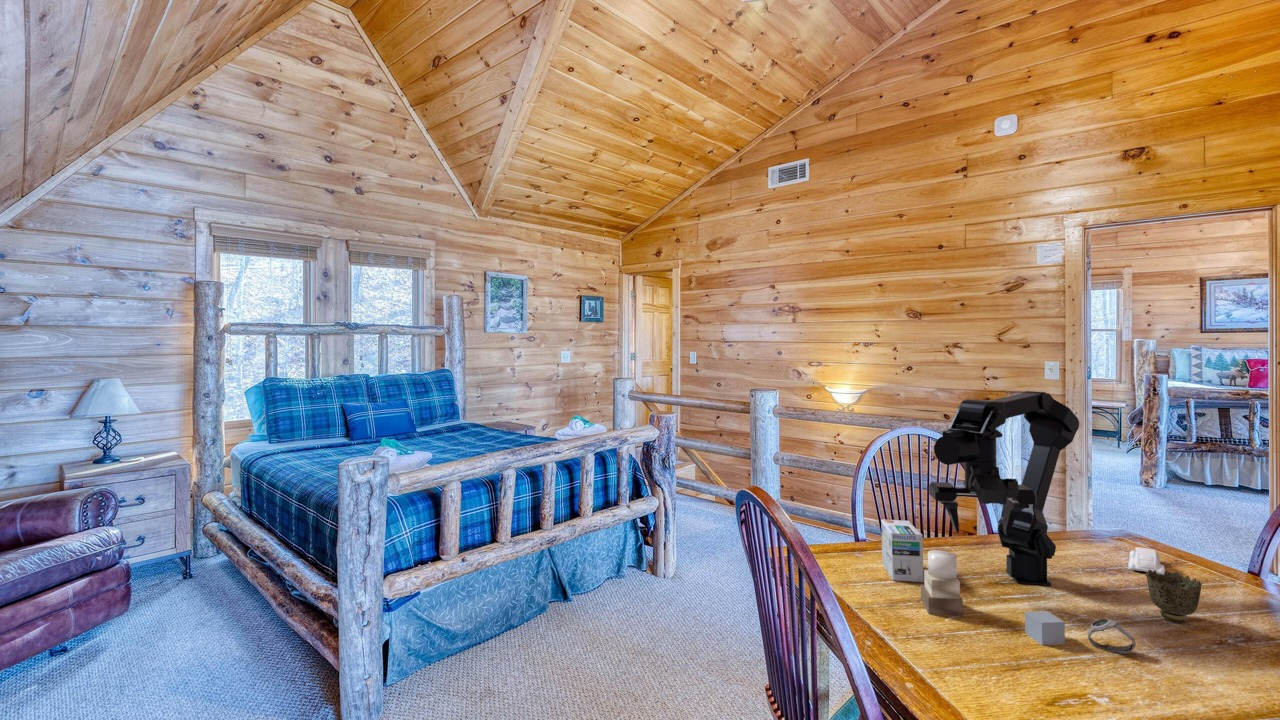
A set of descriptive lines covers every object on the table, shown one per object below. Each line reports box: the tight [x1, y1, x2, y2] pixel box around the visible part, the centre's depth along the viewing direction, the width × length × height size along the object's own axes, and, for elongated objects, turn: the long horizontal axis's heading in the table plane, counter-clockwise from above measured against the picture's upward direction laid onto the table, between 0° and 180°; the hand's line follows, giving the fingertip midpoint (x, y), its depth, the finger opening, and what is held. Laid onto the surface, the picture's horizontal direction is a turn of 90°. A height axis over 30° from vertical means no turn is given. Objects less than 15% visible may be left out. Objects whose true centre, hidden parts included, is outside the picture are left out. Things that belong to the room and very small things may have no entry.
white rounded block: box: [1127, 546, 1166, 575], centre depth 126 cm, size 12×6×5 cm, turn 139°
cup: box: [1145, 570, 1203, 624], centre depth 102 cm, size 8×7×8 cm
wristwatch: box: [1087, 618, 1137, 655], centre depth 93 cm, size 4×6×5 cm, turn 51°
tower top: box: [923, 569, 961, 600], centre depth 108 cm, size 5×5×4 cm
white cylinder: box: [927, 549, 958, 580], centre depth 109 cm, size 5×5×4 cm
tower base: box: [920, 584, 964, 618], centre depth 109 cm, size 6×6×4 cm
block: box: [1024, 610, 1066, 646], centre depth 97 cm, size 4×4×4 cm
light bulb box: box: [880, 519, 925, 583], centre depth 126 cm, size 11×7×11 cm, turn 168°
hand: (981, 533), depth 115 cm, fingers open, 9 cm apart
